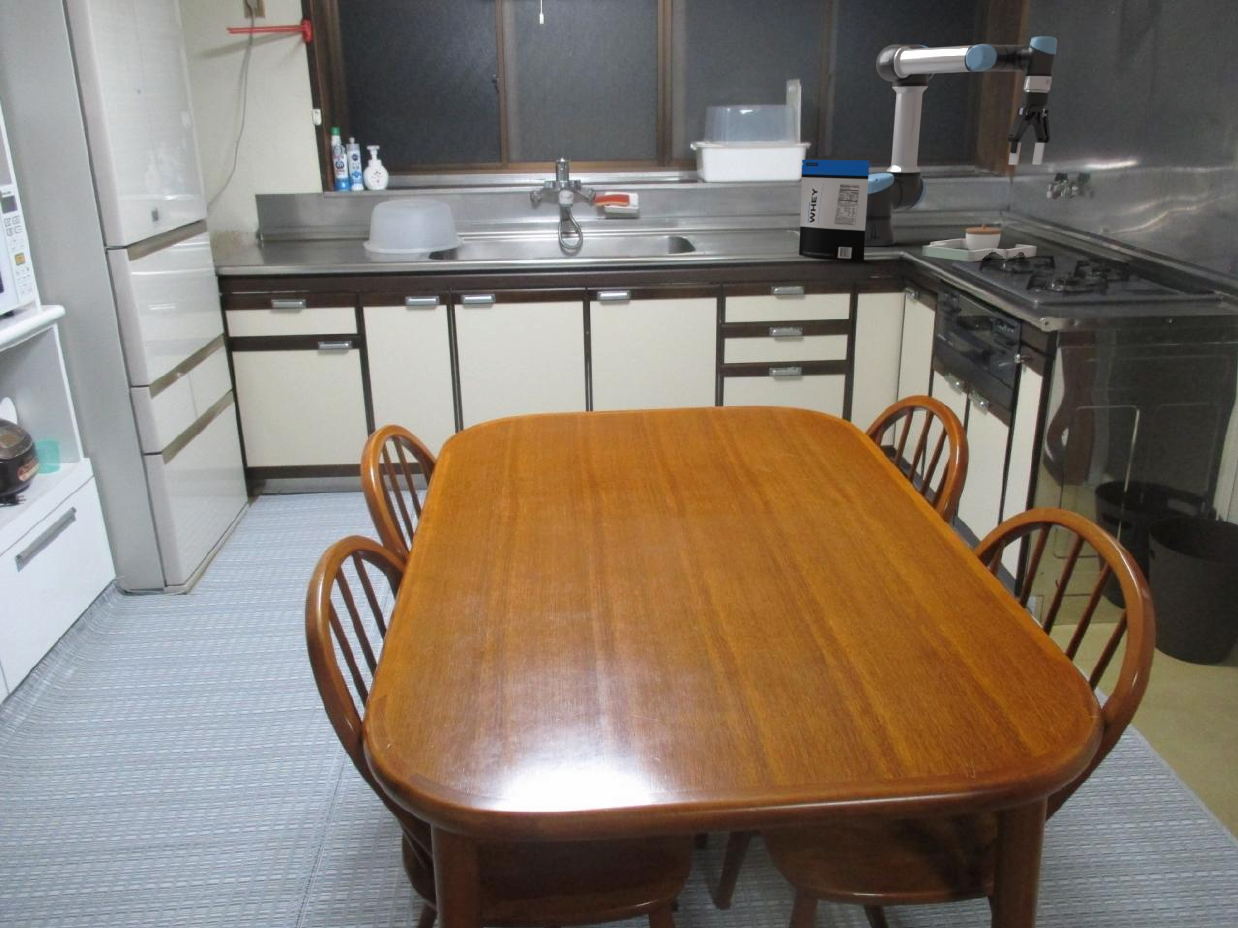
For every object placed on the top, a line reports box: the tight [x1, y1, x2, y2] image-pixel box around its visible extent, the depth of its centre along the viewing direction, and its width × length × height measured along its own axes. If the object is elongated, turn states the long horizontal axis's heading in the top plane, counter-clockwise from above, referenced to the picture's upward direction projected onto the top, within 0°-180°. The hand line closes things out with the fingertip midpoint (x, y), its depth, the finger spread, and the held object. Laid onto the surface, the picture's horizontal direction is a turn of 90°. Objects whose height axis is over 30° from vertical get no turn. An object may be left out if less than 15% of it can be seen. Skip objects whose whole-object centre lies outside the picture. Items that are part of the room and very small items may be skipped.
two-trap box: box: [921, 237, 1037, 263], centre depth 325 cm, size 29×24×3 cm
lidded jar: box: [965, 223, 1002, 251], centre depth 326 cm, size 11×11×9 cm
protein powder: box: [798, 159, 870, 262], centre depth 322 cm, size 10×24×30 cm, turn 46°
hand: (1025, 164), depth 317 cm, fingers open, 13 cm apart
